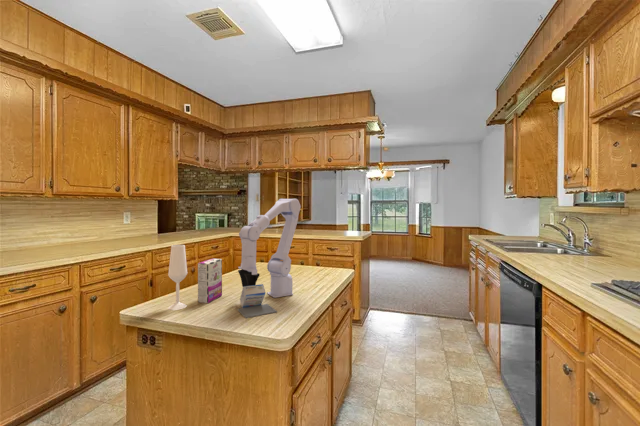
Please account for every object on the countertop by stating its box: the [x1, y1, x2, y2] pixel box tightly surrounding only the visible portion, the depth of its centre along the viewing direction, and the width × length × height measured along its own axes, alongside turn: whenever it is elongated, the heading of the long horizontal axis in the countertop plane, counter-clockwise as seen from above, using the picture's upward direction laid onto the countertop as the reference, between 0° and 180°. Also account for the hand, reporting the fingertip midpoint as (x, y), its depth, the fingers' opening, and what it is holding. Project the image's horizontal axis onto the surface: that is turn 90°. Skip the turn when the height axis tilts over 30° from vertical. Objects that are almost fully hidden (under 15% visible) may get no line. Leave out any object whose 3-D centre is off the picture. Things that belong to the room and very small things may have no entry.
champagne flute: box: [167, 244, 188, 311], centre depth 115 cm, size 7×7×24 cm
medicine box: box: [239, 283, 266, 308], centre depth 116 cm, size 8×4×9 cm
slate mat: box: [237, 303, 278, 319], centre depth 112 cm, size 12×10×1 cm
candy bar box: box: [197, 258, 223, 304], centre depth 126 cm, size 11×5×16 cm, turn 168°
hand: (248, 289), depth 120 cm, fingers open, 6 cm apart
